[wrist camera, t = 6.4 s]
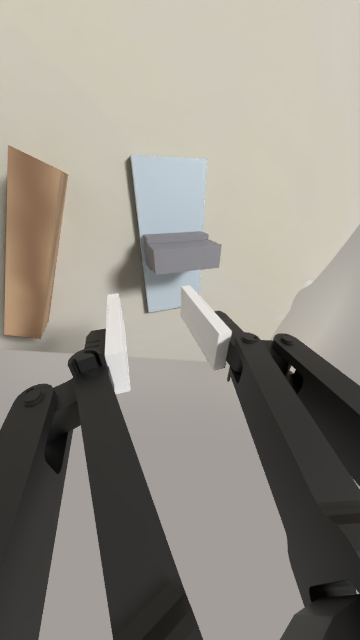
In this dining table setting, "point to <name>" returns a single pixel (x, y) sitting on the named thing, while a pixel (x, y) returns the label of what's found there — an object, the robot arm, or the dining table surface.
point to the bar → (31, 242)
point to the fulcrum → (171, 226)
